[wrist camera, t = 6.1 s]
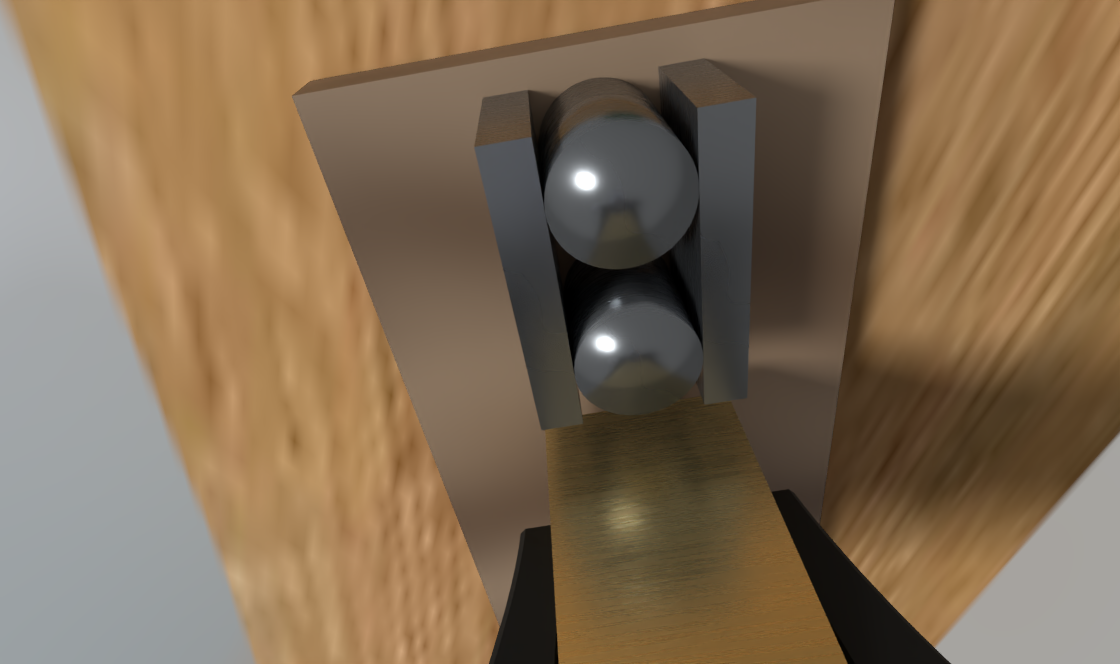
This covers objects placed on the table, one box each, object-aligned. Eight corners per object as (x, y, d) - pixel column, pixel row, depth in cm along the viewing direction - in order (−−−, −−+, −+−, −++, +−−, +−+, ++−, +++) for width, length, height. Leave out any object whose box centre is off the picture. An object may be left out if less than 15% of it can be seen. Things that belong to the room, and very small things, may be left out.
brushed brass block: (726, 525, 14) (864, 923, 8) (573, 547, 14) (611, 953, 8) (726, 391, 11) (916, 819, 6) (544, 420, 12) (570, 865, 6)
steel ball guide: (713, 587, 17) (738, 675, 15) (593, 605, 17) (604, 694, 15) (704, 58, 9) (756, 97, 7) (482, 97, 9) (474, 147, 7)
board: (784, 668, 22) (795, 698, 21) (540, 703, 22) (541, 733, 22) (863, -20, 10) (896, -14, 9) (310, 80, 10) (291, 96, 9)
